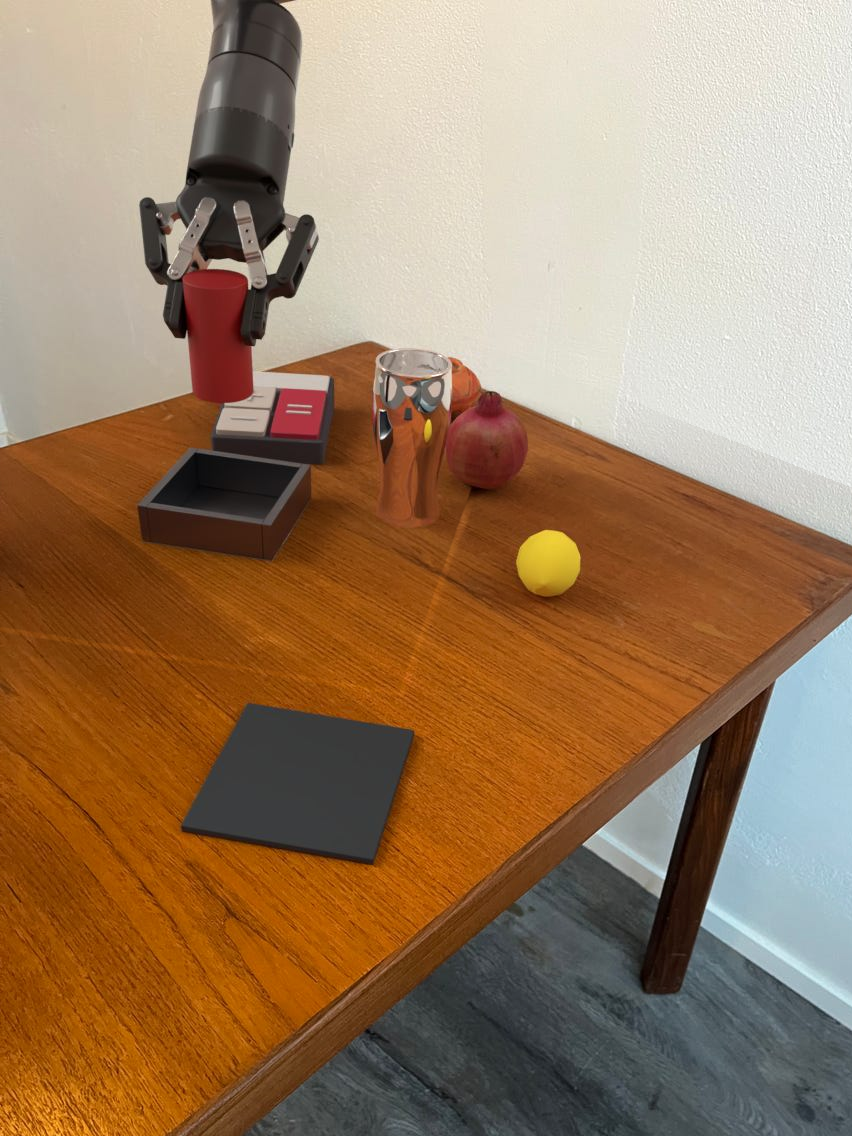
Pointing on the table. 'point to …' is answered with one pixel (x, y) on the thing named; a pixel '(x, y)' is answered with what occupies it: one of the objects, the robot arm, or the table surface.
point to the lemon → (548, 563)
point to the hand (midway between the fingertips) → (212, 337)
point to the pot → (463, 386)
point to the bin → (226, 504)
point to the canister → (217, 335)
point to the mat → (303, 783)
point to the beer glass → (410, 433)
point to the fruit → (486, 444)
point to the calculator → (279, 419)
